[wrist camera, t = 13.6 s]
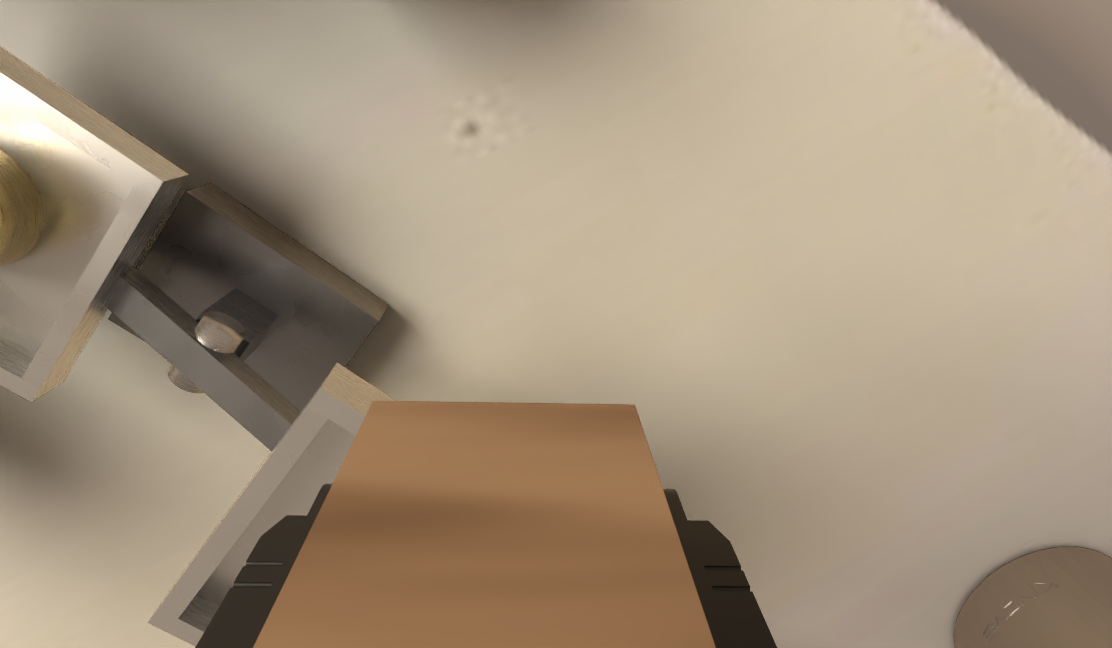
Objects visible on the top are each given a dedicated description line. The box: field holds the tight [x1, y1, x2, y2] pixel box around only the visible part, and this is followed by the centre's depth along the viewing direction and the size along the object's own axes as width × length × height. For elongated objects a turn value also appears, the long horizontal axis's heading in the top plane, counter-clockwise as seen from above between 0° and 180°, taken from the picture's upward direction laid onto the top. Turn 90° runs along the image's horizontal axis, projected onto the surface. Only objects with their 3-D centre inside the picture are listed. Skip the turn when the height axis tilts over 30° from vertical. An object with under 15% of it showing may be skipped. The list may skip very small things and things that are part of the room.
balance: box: [0, 47, 396, 646], centre depth 22 cm, size 25×9×11 cm, turn 52°
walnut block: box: [253, 401, 716, 648], centre depth 9 cm, size 4×4×6 cm
